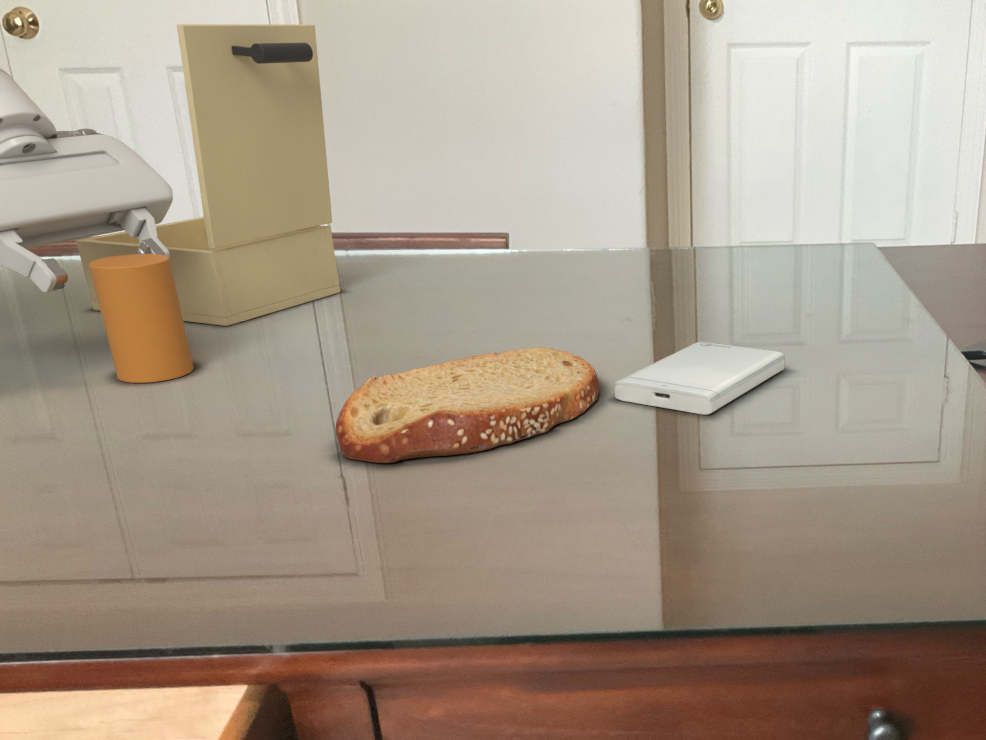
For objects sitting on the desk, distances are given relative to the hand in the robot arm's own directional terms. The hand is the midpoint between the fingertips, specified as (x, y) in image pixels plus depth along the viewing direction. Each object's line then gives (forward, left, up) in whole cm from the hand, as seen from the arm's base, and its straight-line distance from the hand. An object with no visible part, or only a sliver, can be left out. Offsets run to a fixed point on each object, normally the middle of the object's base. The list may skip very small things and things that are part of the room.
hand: (111, 273), depth 85 cm
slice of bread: (+17, -28, -8) cm, 34 cm away
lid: (+17, +14, +9) cm, 23 cm away
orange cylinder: (+1, -2, -8) cm, 8 cm away
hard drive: (+34, -32, -8) cm, 48 cm away
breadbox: (+12, +22, -8) cm, 26 cm away
